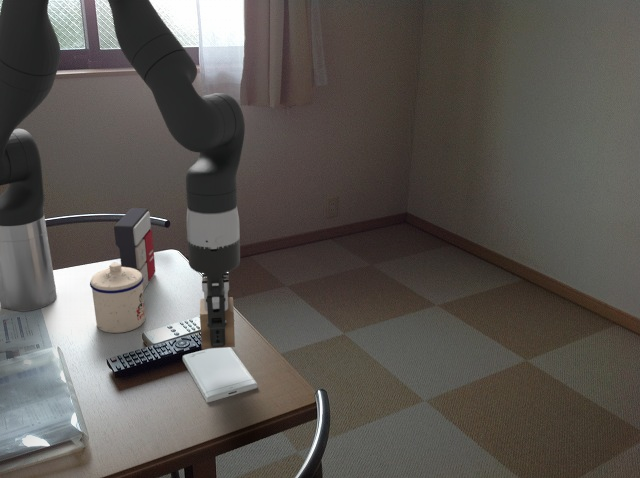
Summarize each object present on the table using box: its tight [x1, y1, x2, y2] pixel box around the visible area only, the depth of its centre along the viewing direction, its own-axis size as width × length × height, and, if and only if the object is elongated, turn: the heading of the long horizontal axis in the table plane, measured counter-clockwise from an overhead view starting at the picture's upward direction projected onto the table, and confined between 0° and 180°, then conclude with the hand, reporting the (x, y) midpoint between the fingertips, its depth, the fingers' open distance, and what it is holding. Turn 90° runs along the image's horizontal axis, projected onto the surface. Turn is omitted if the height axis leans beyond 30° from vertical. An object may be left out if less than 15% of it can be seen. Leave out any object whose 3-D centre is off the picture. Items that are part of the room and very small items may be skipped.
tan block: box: [199, 296, 236, 350], centre depth 91 cm, size 5×5×6 cm
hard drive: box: [182, 347, 258, 403], centre depth 95 cm, size 2×8×12 cm
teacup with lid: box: [89, 262, 146, 334], centre depth 108 cm, size 12×9×12 cm
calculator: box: [113, 207, 156, 292], centre depth 120 cm, size 11×4×15 cm, turn 179°
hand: (217, 335), depth 92 cm, fingers closed on tan block, 5 cm apart
